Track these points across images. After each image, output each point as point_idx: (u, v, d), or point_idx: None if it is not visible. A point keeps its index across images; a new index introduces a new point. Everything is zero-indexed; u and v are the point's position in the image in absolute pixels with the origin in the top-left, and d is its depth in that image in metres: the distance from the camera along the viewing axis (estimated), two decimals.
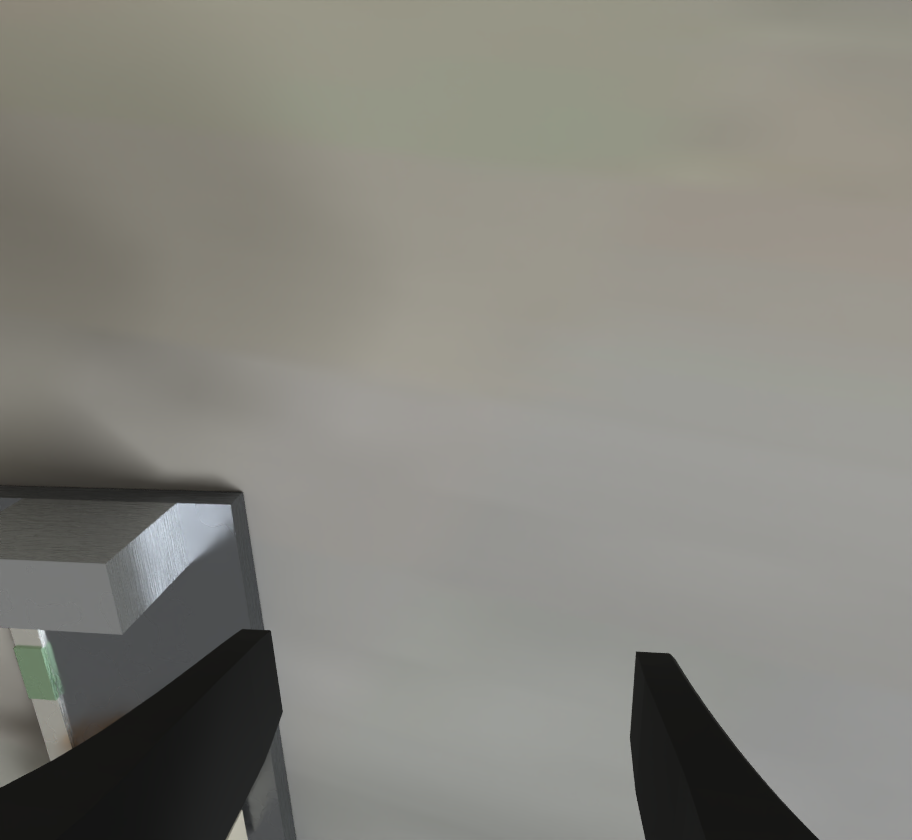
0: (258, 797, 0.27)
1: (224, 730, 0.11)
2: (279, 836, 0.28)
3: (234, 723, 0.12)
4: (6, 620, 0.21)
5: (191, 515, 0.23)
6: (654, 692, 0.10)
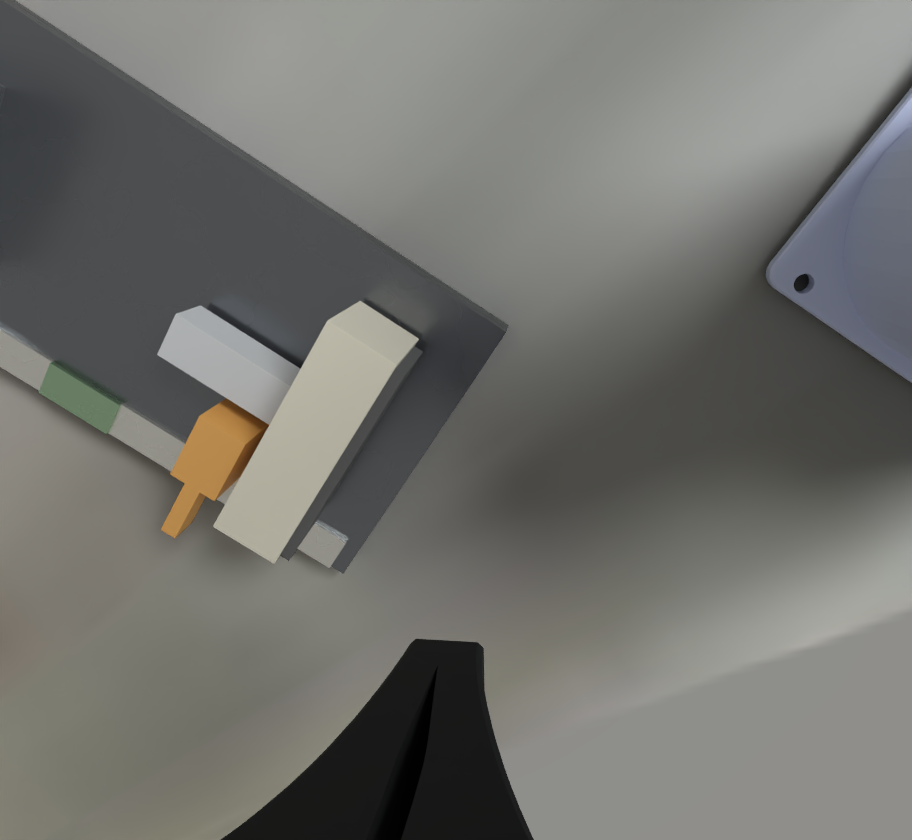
0: (362, 272, 0.19)
1: (425, 747, 0.11)
2: (435, 294, 0.19)
3: None
4: None
5: None
6: (438, 678, 0.11)
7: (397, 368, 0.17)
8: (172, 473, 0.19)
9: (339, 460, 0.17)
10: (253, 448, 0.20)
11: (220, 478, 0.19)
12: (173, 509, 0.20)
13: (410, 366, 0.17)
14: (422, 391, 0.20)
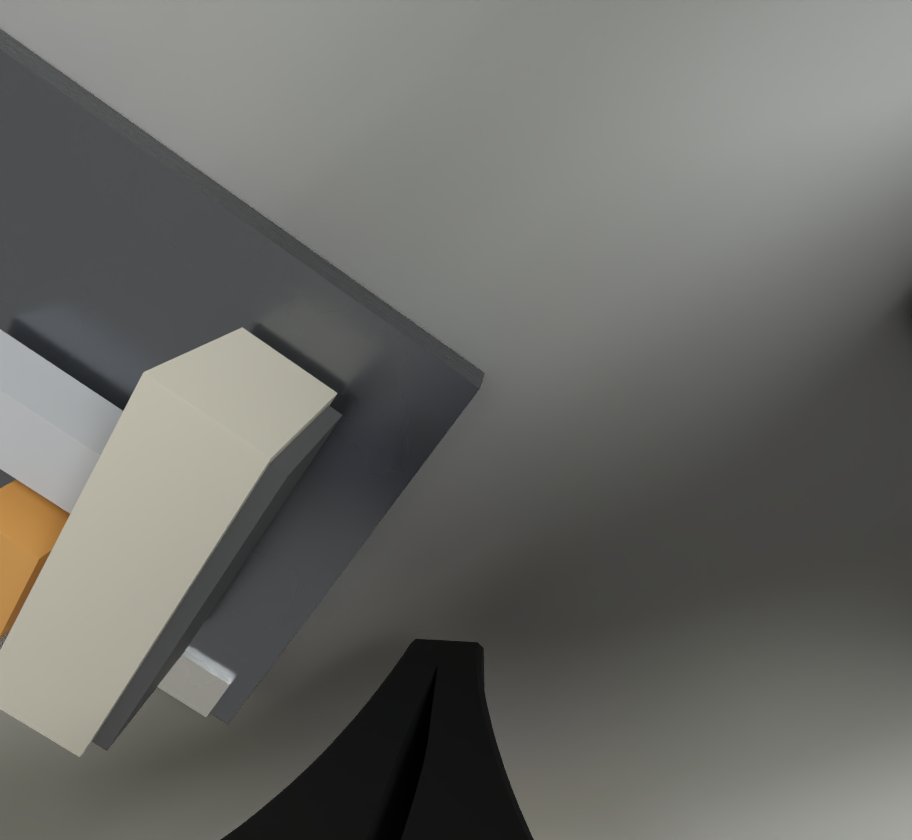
0: (247, 281, 0.11)
1: (425, 746, 0.11)
2: (366, 322, 0.11)
3: None
4: None
5: None
6: (438, 678, 0.11)
7: (277, 459, 0.09)
8: None
9: (181, 607, 0.10)
10: None
11: (3, 607, 0.12)
12: None
13: (307, 450, 0.10)
14: (344, 472, 0.12)
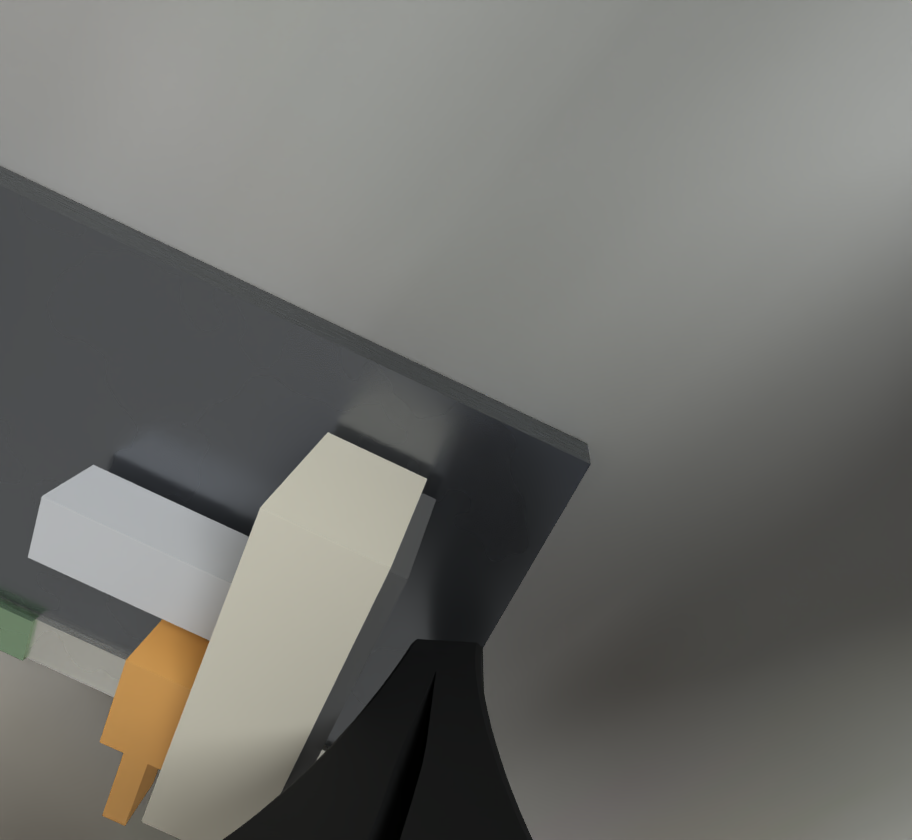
0: (351, 399, 0.12)
1: None
2: (471, 420, 0.12)
3: None
4: None
5: None
6: (437, 678, 0.11)
7: (393, 565, 0.10)
8: (103, 740, 0.12)
9: (321, 714, 0.10)
10: None
11: None
12: (114, 788, 0.13)
13: (416, 547, 0.10)
14: (468, 562, 0.13)
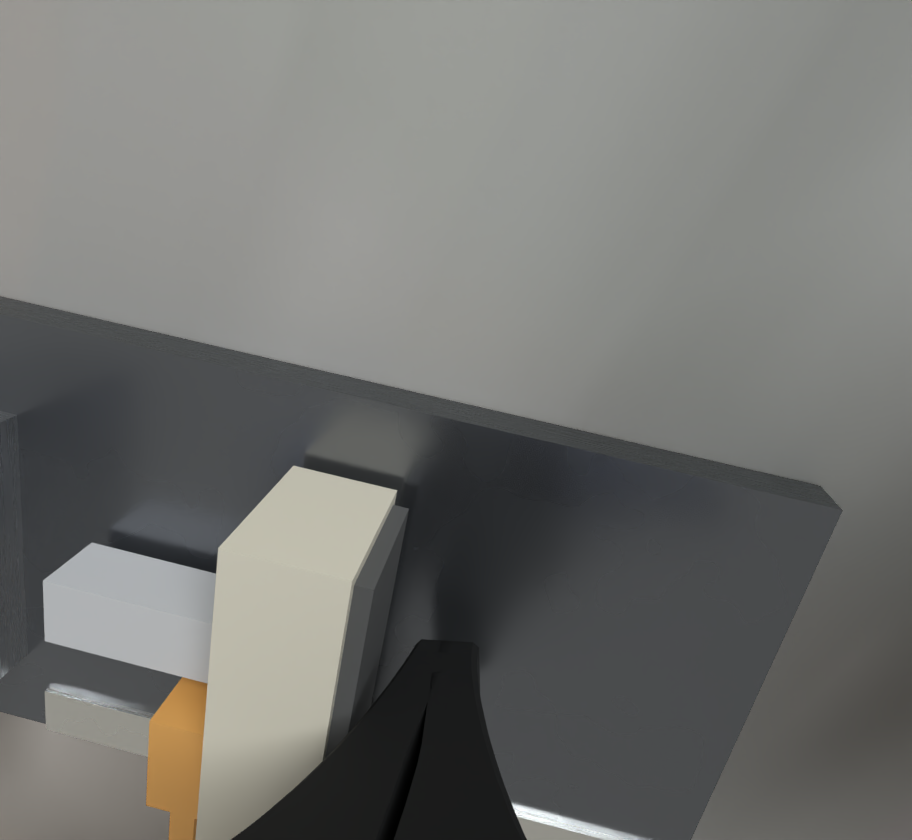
0: (582, 494, 0.12)
1: None
2: (709, 490, 0.12)
3: None
4: None
5: None
6: (433, 677, 0.11)
7: (360, 578, 0.10)
8: (149, 803, 0.13)
9: (330, 739, 0.11)
10: None
11: None
12: None
13: (385, 557, 0.10)
14: (724, 628, 0.13)
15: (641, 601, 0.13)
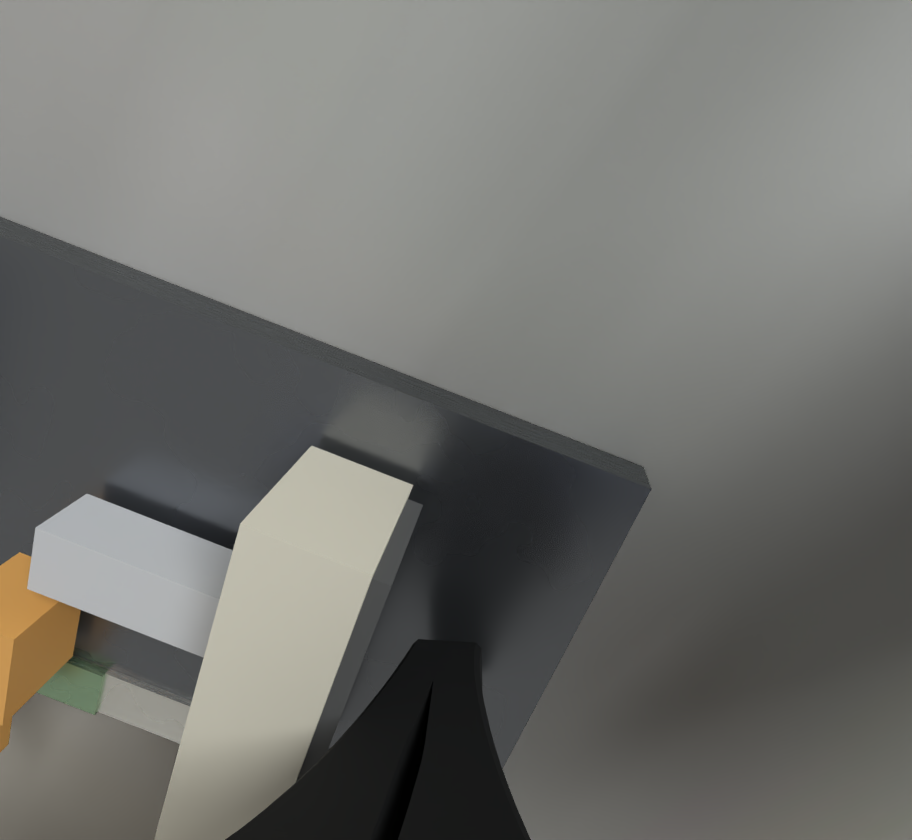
0: (408, 441, 0.12)
1: None
2: (528, 453, 0.12)
3: None
4: None
5: None
6: (436, 678, 0.11)
7: (377, 572, 0.10)
8: None
9: (319, 727, 0.11)
10: (60, 626, 0.13)
11: None
12: None
13: (401, 553, 0.10)
14: (532, 593, 0.13)
15: (456, 556, 0.13)
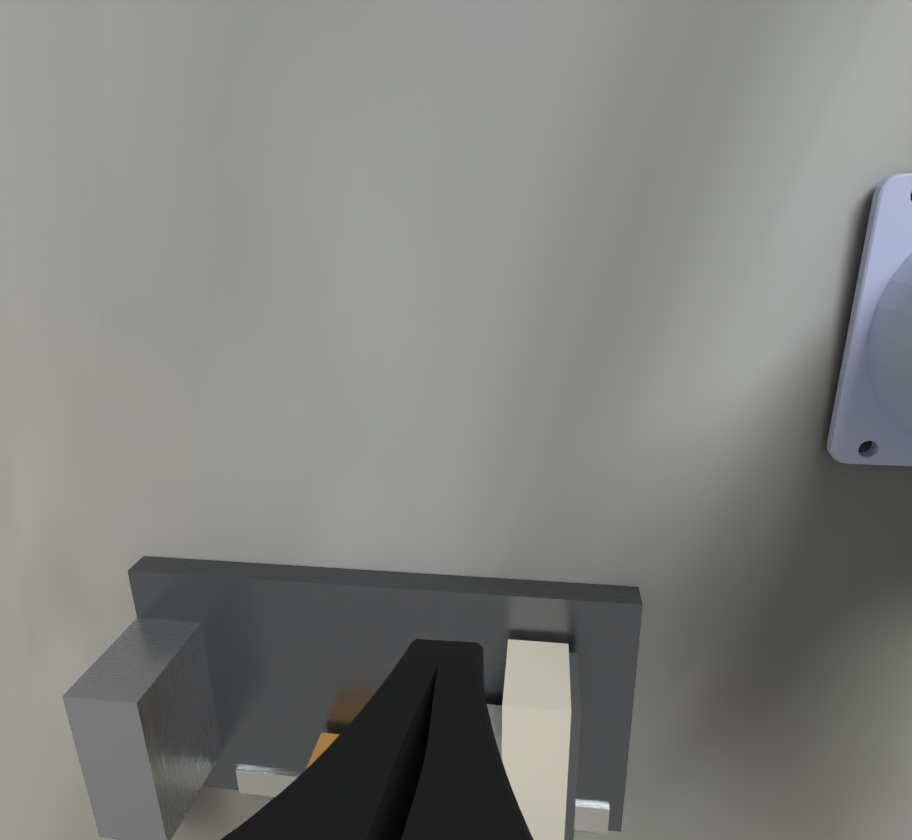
0: (506, 617, 0.22)
1: (425, 747, 0.11)
2: (570, 605, 0.22)
3: None
4: (149, 796, 0.21)
5: (147, 607, 0.24)
6: (438, 678, 0.11)
7: (572, 706, 0.19)
8: None
9: (567, 789, 0.20)
10: None
11: None
12: None
13: (578, 690, 0.20)
14: (602, 674, 0.22)
15: None
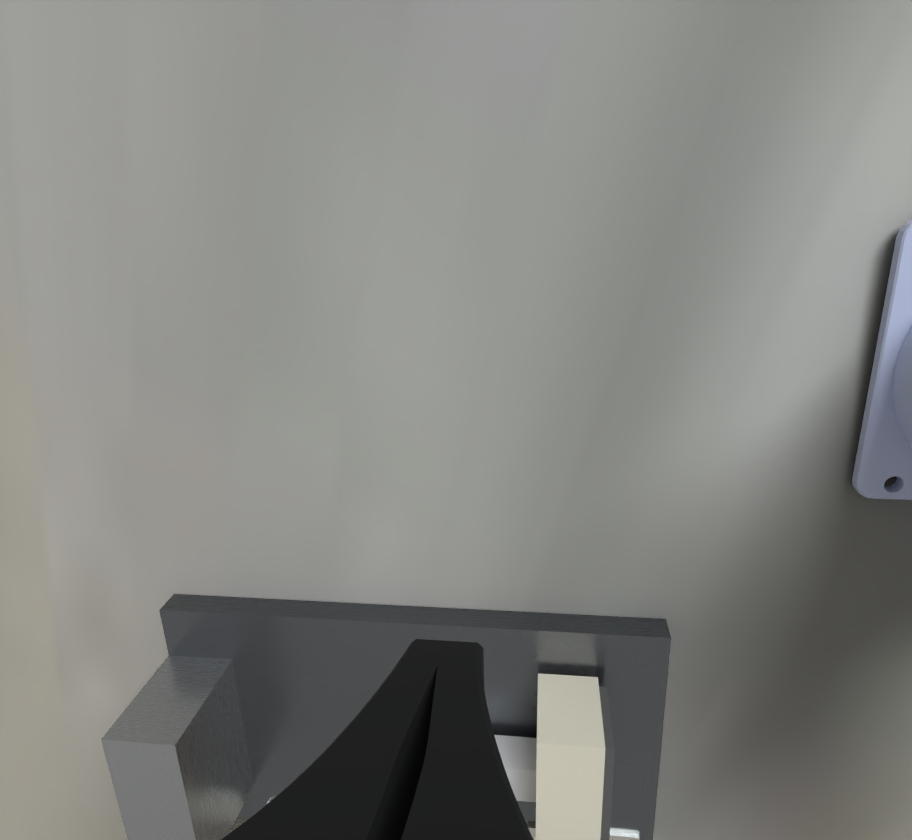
0: (535, 651, 0.22)
1: (425, 747, 0.11)
2: (599, 639, 0.22)
3: None
4: (187, 836, 0.22)
5: (178, 645, 0.24)
6: (438, 678, 0.11)
7: (605, 743, 0.20)
8: None
9: (601, 823, 0.20)
10: None
11: None
12: None
13: (611, 726, 0.20)
14: (631, 706, 0.23)
15: None
